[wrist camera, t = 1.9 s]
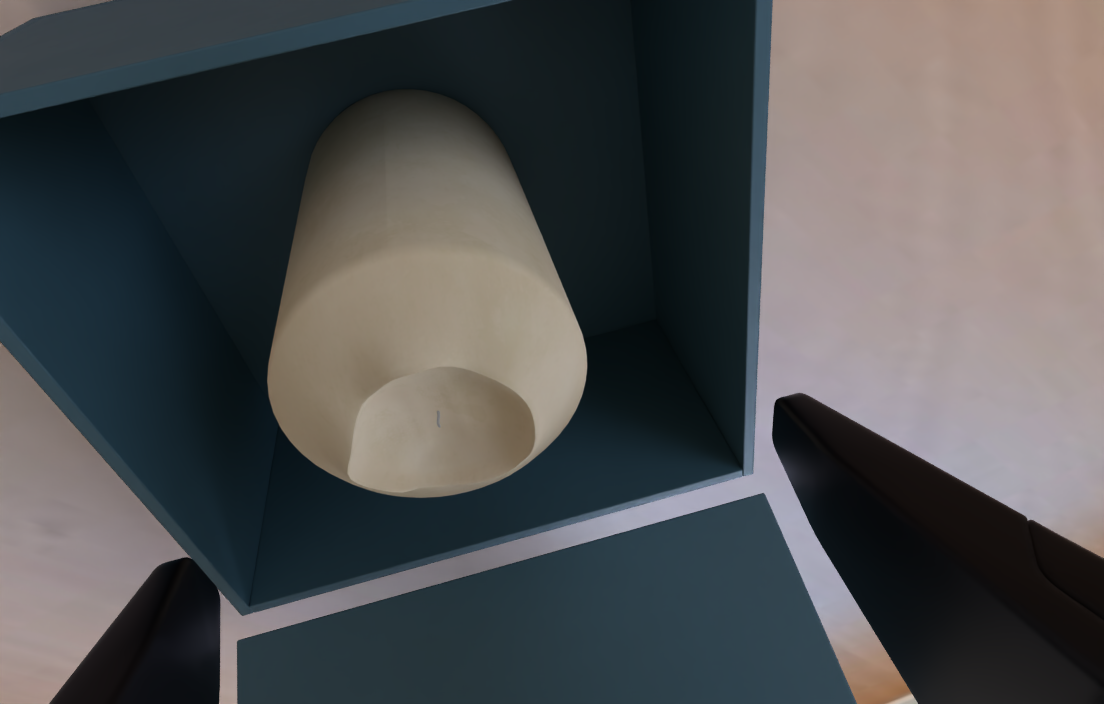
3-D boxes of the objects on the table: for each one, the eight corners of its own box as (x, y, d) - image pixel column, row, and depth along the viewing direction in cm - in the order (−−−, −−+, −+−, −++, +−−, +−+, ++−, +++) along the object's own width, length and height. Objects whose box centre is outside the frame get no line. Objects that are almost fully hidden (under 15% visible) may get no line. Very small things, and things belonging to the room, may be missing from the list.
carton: (662, 318, 23) (753, 474, 18) (275, 420, 23) (242, 616, 17) (629, -115, 15) (776, -84, 10) (31, 18, 15) (-184, 135, 9)
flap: (764, 491, 17) (761, 497, 17) (236, 640, 16) (244, 642, 17) (886, 768, 14) (879, 767, 14) (238, 968, 13) (248, 962, 13)
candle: (348, 295, 20) (332, 588, 12) (272, 113, 17) (182, 360, 9) (528, 251, 20) (623, 510, 13) (490, 63, 17) (589, 260, 9)
